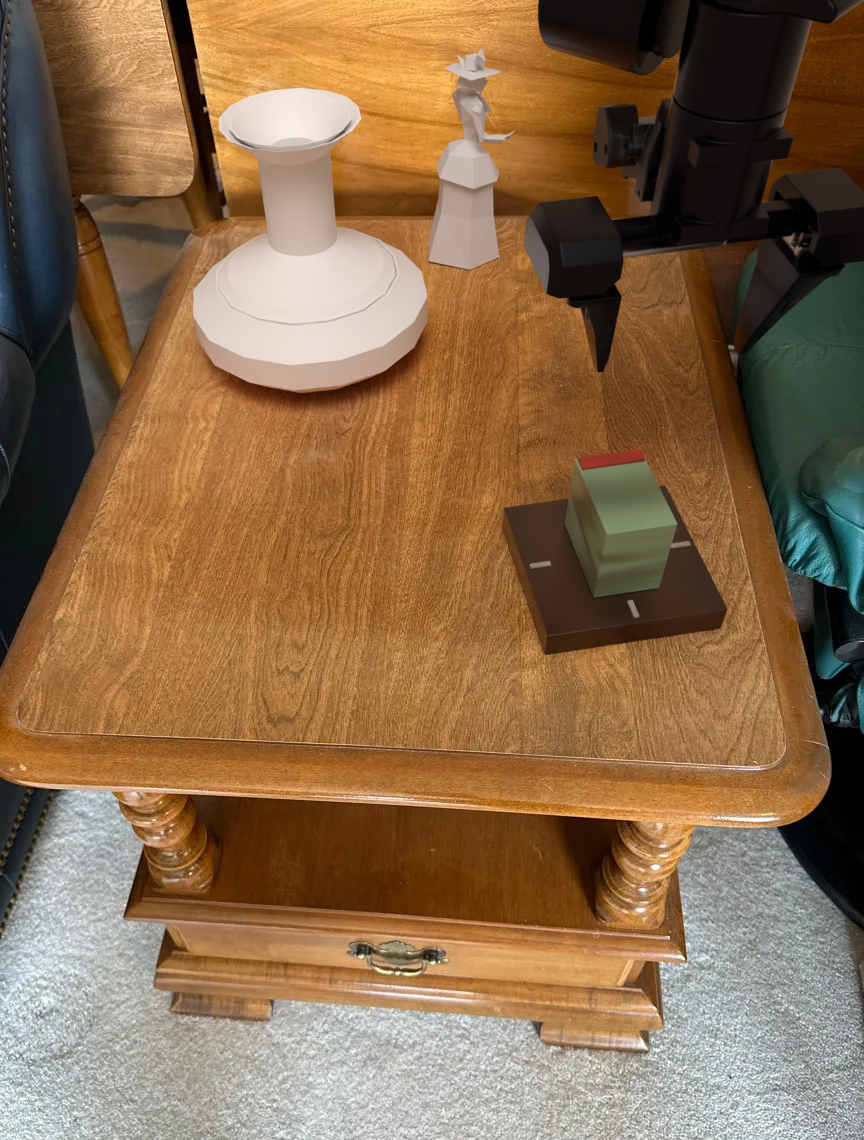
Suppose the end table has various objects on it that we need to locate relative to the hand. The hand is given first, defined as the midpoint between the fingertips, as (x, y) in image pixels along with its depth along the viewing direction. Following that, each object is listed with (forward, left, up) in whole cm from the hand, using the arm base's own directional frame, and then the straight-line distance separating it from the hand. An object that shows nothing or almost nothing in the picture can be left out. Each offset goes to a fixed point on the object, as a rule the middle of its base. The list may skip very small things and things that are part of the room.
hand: (668, 359), depth 60 cm
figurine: (+5, -38, -13) cm, 41 cm away
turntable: (+4, +6, -13) cm, 15 cm away
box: (+4, +6, -11) cm, 13 cm away
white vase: (+21, -25, -13) cm, 35 cm away
